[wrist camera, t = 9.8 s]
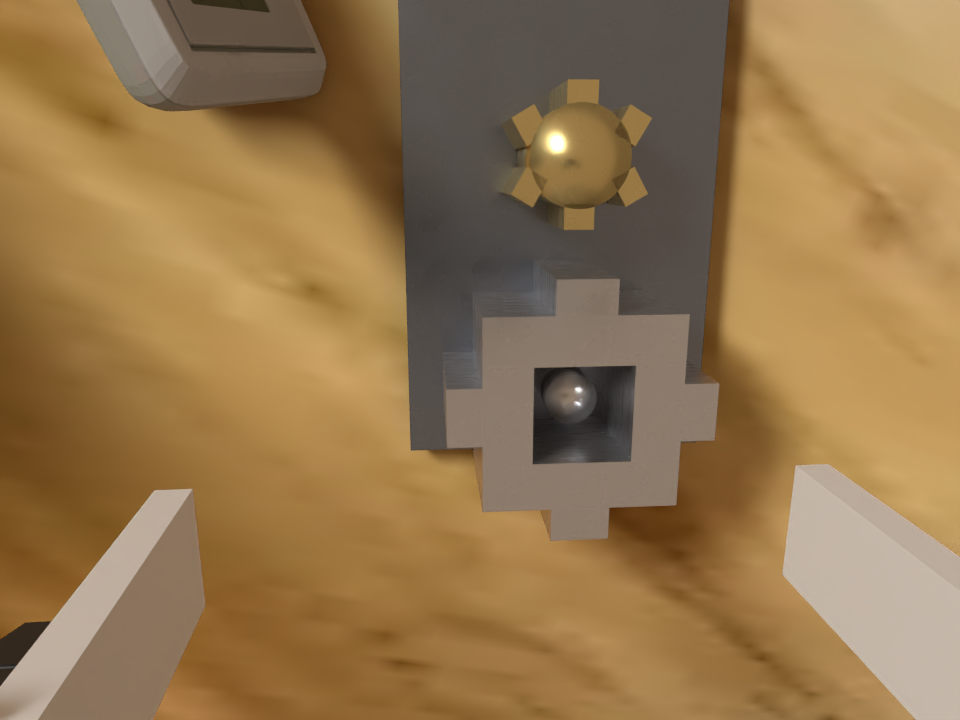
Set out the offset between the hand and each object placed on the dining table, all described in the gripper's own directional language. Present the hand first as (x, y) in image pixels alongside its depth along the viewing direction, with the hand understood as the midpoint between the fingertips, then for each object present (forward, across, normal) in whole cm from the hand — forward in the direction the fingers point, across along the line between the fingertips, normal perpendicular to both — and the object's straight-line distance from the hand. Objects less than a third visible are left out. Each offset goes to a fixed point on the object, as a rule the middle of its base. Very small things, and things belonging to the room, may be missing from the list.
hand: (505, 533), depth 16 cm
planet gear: (+18, +5, -2) cm, 19 cm away
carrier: (+20, +5, +6) cm, 21 cm away
